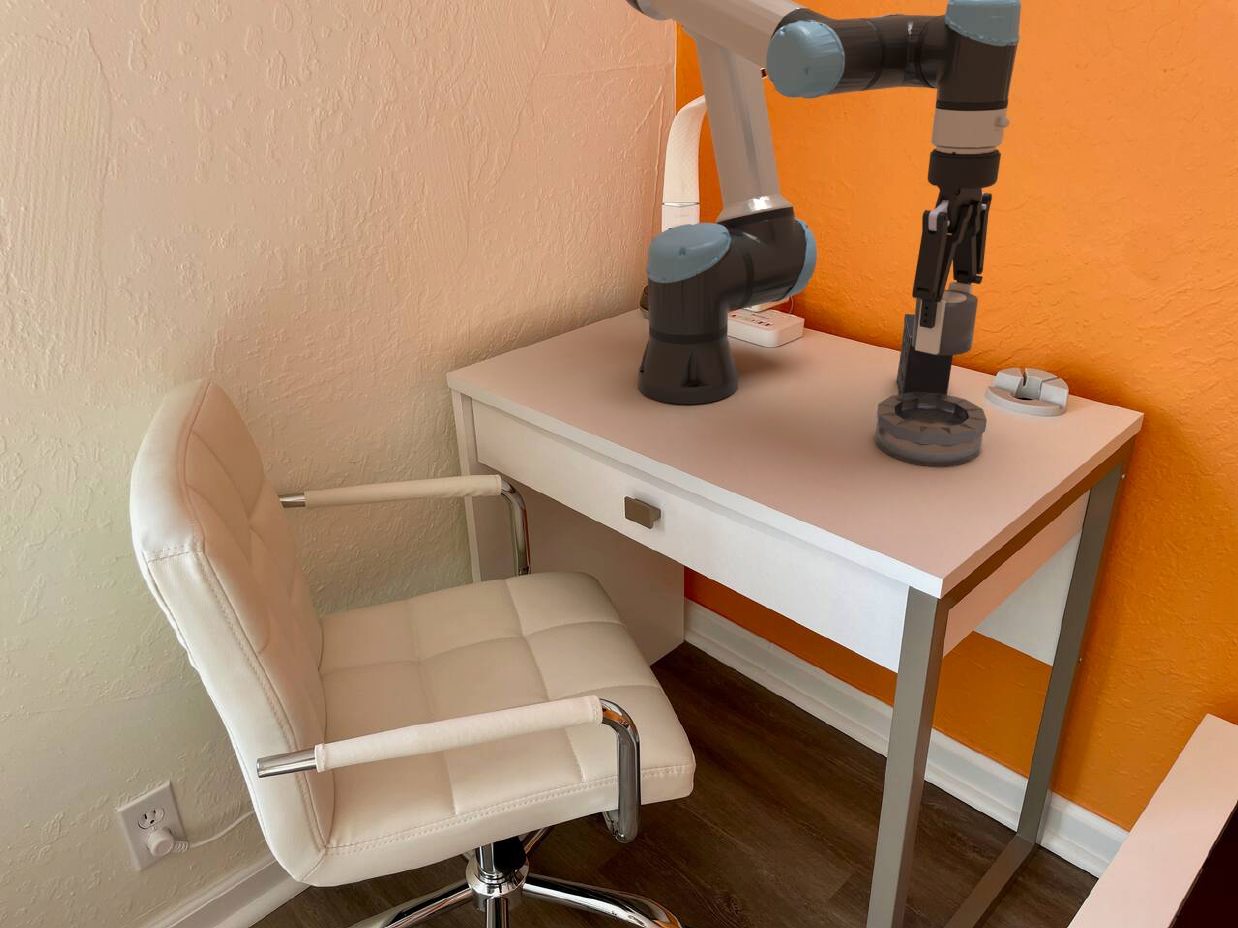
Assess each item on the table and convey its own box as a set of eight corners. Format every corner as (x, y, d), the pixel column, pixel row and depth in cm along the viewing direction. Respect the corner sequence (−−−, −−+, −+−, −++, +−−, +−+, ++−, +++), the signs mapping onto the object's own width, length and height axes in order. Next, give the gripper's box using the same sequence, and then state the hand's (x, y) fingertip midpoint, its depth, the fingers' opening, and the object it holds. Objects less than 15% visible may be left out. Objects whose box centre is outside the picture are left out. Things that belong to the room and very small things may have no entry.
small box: (948, 409, 129) (958, 338, 125) (900, 407, 131) (908, 337, 126) (940, 381, 139) (949, 314, 134) (895, 379, 140) (902, 313, 135)
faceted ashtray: (857, 447, 120) (860, 416, 118) (903, 415, 128) (907, 385, 126) (953, 476, 112) (958, 443, 110) (996, 439, 120) (1001, 408, 118)
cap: (901, 348, 114) (906, 299, 111) (927, 332, 118) (932, 285, 115) (956, 359, 109) (962, 309, 106) (981, 342, 114) (987, 293, 111)
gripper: (961, 163, 94) (934, 373, 105) (1033, 138, 107) (1002, 327, 118) (893, 158, 99) (874, 359, 109) (970, 134, 112) (946, 316, 122)
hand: (940, 342), depth 114 cm, fingers closed on cap, 7 cm apart
